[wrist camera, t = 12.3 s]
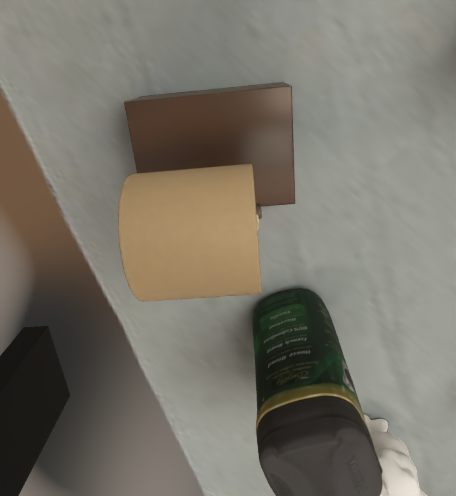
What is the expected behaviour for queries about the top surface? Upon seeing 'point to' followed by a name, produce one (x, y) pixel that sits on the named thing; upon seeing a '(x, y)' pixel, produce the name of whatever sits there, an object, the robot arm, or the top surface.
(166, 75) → the top surface
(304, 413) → the coffee jar
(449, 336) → the top surface
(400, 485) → the rabbit
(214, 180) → the toy wooden mallet
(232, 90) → the brown toy chest
